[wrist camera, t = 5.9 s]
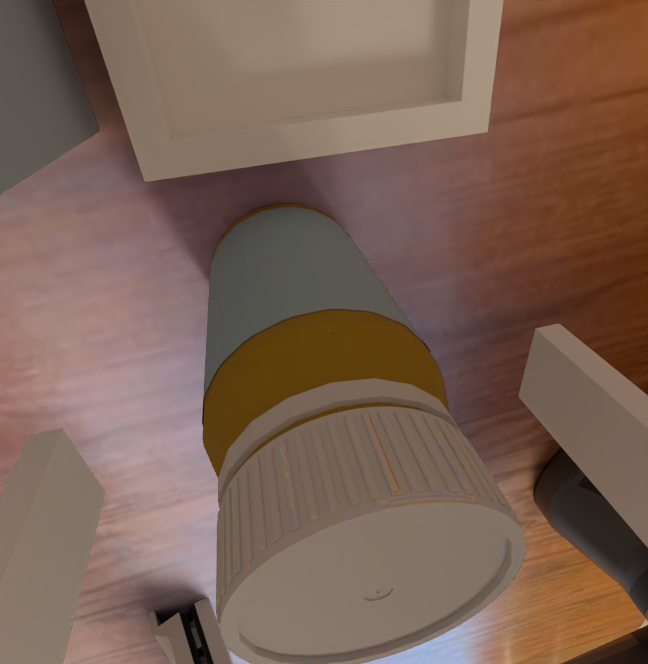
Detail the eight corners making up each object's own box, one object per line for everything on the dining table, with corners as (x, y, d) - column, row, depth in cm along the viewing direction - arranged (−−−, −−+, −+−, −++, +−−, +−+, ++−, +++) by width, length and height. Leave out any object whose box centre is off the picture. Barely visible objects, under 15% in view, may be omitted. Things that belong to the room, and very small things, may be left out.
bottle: (313, 346, 23) (415, 674, 11) (188, 304, 20) (139, 686, 8) (380, 237, 20) (618, 514, 8) (246, 170, 17) (305, 444, 5)
